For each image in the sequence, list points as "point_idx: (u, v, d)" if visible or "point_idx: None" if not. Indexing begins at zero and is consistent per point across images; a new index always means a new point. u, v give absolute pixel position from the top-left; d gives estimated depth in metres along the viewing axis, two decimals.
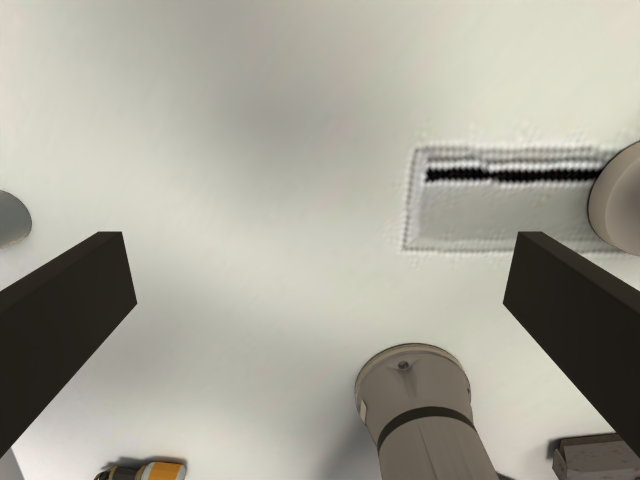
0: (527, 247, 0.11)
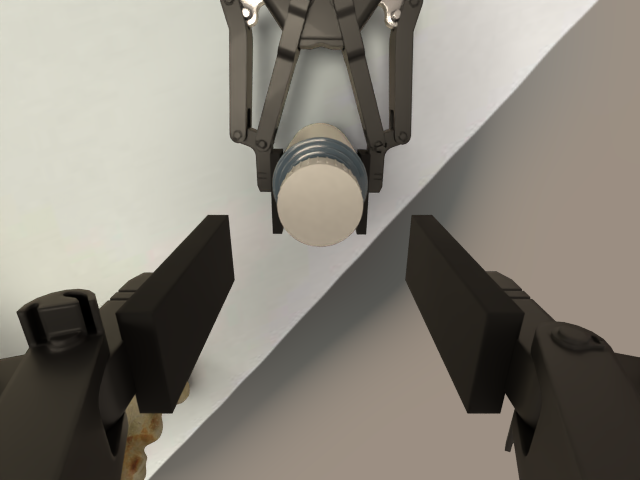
0: (415, 228, 0.13)
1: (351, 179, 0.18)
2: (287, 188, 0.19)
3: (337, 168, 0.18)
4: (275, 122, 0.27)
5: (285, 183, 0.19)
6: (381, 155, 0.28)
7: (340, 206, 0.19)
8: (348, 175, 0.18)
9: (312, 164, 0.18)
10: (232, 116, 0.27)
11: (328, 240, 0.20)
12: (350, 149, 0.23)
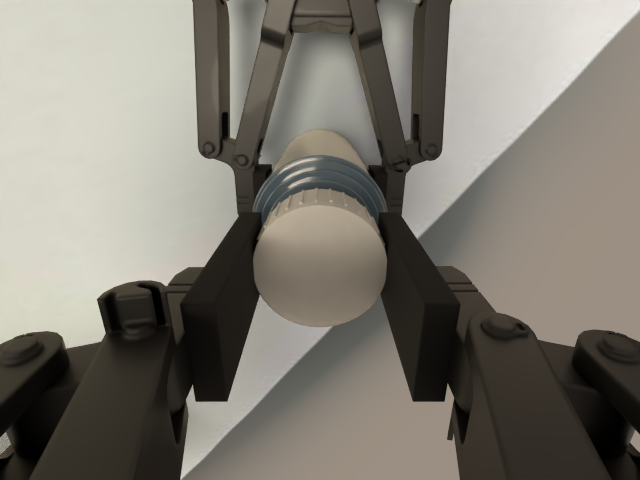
0: (381, 224, 0.13)
1: (370, 228, 0.12)
2: (267, 243, 0.12)
3: (347, 212, 0.11)
4: (259, 131, 0.20)
5: (264, 235, 0.12)
6: (401, 174, 0.21)
7: (352, 269, 0.12)
8: (365, 222, 0.11)
9: (307, 205, 0.11)
10: (201, 123, 0.20)
11: (332, 318, 0.13)
12: (363, 172, 0.16)
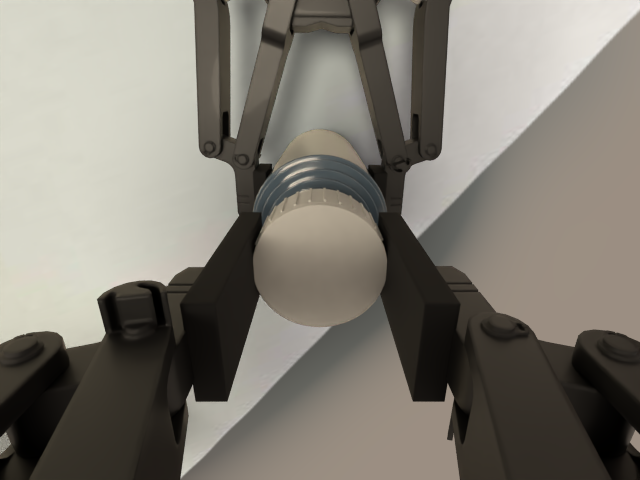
0: (381, 224, 0.13)
1: (255, 261, 0.12)
2: (329, 319, 0.13)
3: (257, 285, 0.12)
4: (260, 130, 0.20)
5: (324, 324, 0.13)
6: (401, 174, 0.21)
7: (298, 248, 0.12)
8: None
9: (278, 311, 0.13)
10: (202, 122, 0.20)
11: (356, 226, 0.12)
12: (363, 172, 0.16)
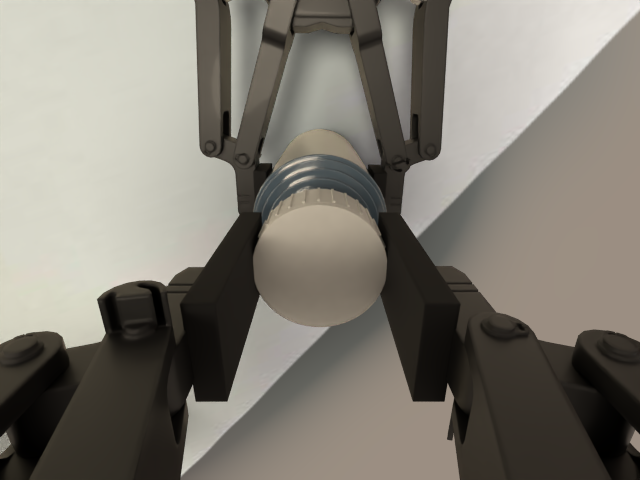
0: (381, 224, 0.13)
1: (351, 317, 0.13)
2: (360, 229, 0.12)
3: (372, 302, 0.13)
4: (260, 130, 0.20)
5: (369, 228, 0.12)
6: (400, 174, 0.21)
7: (314, 298, 0.12)
8: (358, 314, 0.13)
9: None
10: (202, 122, 0.20)
11: (261, 271, 0.12)
12: (363, 171, 0.16)
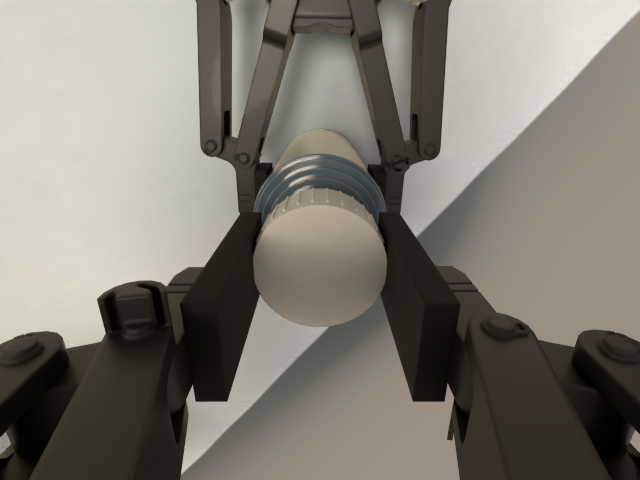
0: (380, 224, 0.13)
1: (343, 211, 0.11)
2: (261, 268, 0.12)
3: (314, 206, 0.11)
4: (261, 130, 0.20)
5: (254, 262, 0.12)
6: (400, 173, 0.21)
7: (348, 255, 0.12)
8: (336, 208, 0.11)
9: (277, 218, 0.12)
10: (203, 121, 0.20)
11: (356, 307, 0.13)
12: (363, 171, 0.16)
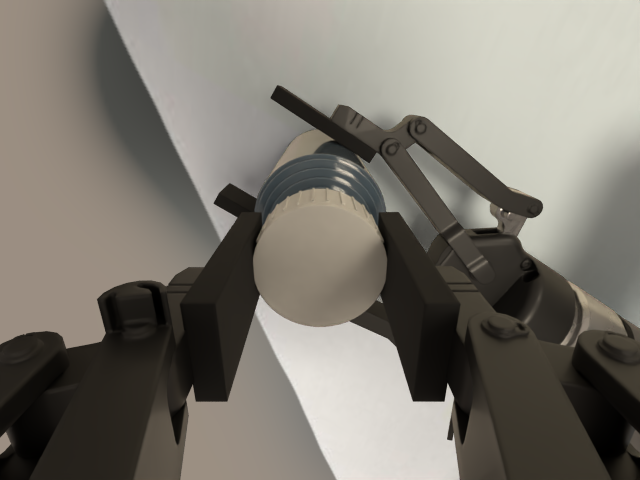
0: (380, 224, 0.13)
1: (343, 211, 0.11)
2: (261, 268, 0.12)
3: (315, 206, 0.11)
4: (402, 179, 0.21)
5: (254, 261, 0.12)
6: None
7: (348, 255, 0.12)
8: (336, 208, 0.11)
9: (277, 218, 0.12)
10: (442, 136, 0.20)
11: (356, 307, 0.13)
12: None
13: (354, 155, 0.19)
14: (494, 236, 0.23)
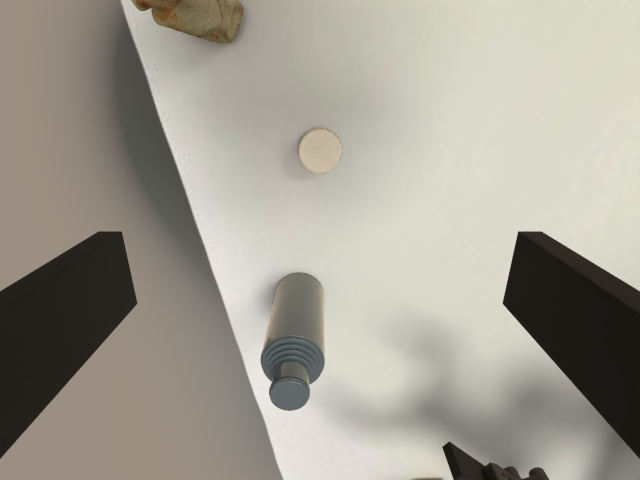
0: (527, 247, 0.11)
1: (327, 132, 0.37)
2: (301, 151, 0.38)
3: (318, 130, 0.37)
4: None
5: (299, 149, 0.38)
6: None
7: (329, 147, 0.38)
8: (325, 131, 0.37)
9: (307, 134, 0.38)
10: None
11: (332, 166, 0.39)
12: None
13: (315, 320, 0.38)
14: None
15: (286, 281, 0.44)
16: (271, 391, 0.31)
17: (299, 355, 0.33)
